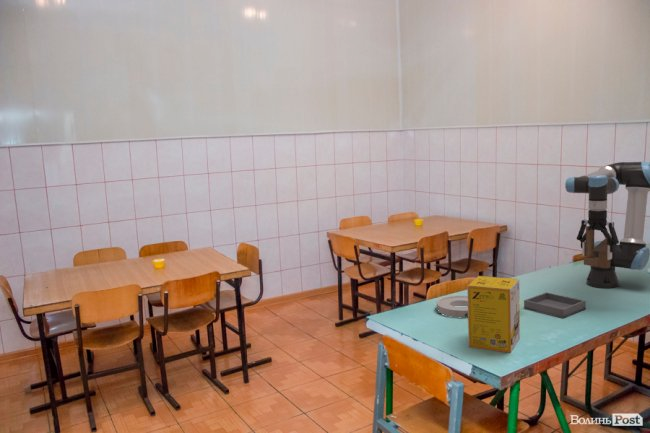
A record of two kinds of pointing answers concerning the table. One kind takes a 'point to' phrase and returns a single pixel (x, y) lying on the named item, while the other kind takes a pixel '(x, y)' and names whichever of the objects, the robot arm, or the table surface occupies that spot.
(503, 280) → the packaging box
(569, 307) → the tray
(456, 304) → the ashtray
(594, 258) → the brown round-handled part
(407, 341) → the table surface
